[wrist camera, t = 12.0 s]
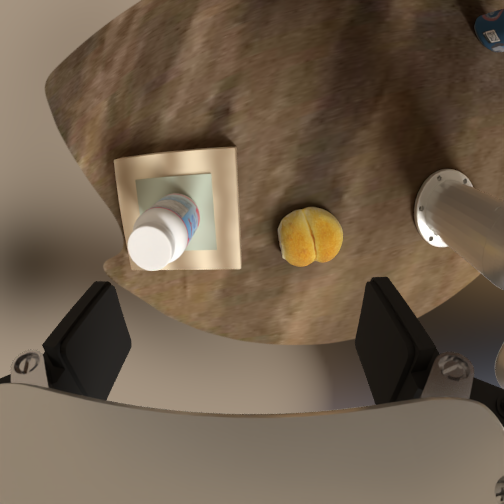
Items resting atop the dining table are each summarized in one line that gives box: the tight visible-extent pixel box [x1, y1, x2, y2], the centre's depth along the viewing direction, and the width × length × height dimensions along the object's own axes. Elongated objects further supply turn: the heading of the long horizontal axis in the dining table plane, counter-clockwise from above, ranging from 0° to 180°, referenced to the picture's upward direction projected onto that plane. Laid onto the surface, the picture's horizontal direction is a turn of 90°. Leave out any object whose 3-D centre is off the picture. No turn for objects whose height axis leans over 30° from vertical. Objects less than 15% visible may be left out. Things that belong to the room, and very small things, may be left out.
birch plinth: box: [114, 146, 242, 270], centre depth 39 cm, size 16×16×3 cm
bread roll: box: [278, 207, 343, 267], centre depth 40 cm, size 8×9×4 cm
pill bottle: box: [128, 193, 200, 271], centre depth 32 cm, size 6×6×11 cm
